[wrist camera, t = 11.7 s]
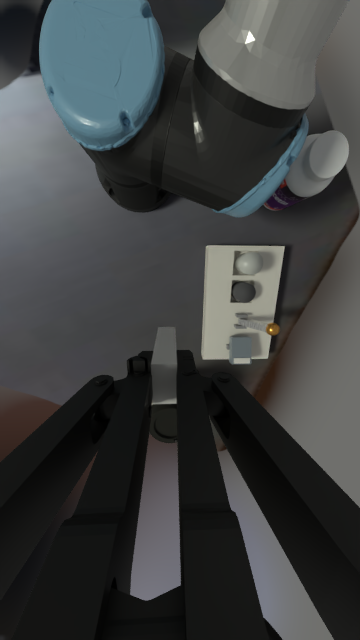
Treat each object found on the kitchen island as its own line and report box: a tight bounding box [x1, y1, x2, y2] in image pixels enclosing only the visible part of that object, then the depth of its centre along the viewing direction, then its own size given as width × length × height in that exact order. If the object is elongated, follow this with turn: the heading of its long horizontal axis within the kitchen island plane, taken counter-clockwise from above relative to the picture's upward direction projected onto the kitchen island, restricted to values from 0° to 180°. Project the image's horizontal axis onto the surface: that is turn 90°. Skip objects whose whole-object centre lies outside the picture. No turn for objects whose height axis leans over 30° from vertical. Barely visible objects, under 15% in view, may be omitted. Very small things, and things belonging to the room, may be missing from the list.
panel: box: [201, 245, 285, 359], centre depth 45 cm, size 26×16×5 cm, turn 0°
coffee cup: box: [149, 403, 177, 443], centre depth 46 cm, size 10×10×15 cm
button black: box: [231, 281, 256, 303], centre depth 43 cm, size 4×4×4 cm
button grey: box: [235, 252, 263, 275], centre depth 40 cm, size 4×4×4 cm
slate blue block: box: [229, 336, 252, 364], centre depth 45 cm, size 6×4×2 cm
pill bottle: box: [263, 130, 349, 211], centre depth 34 cm, size 8×8×14 cm
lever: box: [238, 318, 280, 336], centre depth 42 cm, size 3×3×9 cm
